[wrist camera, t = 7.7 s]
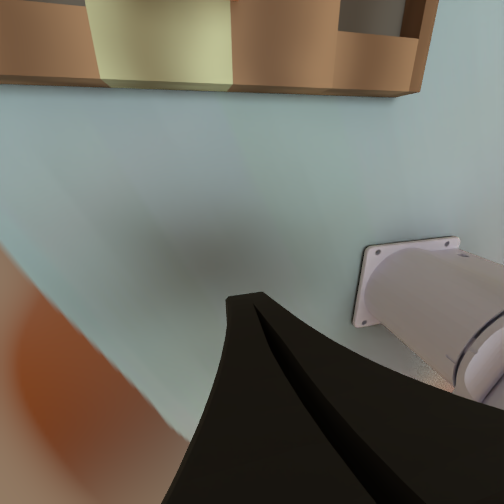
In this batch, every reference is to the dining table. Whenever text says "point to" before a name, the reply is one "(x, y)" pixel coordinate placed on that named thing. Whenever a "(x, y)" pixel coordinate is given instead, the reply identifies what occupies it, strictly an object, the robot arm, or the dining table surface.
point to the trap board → (219, 45)
